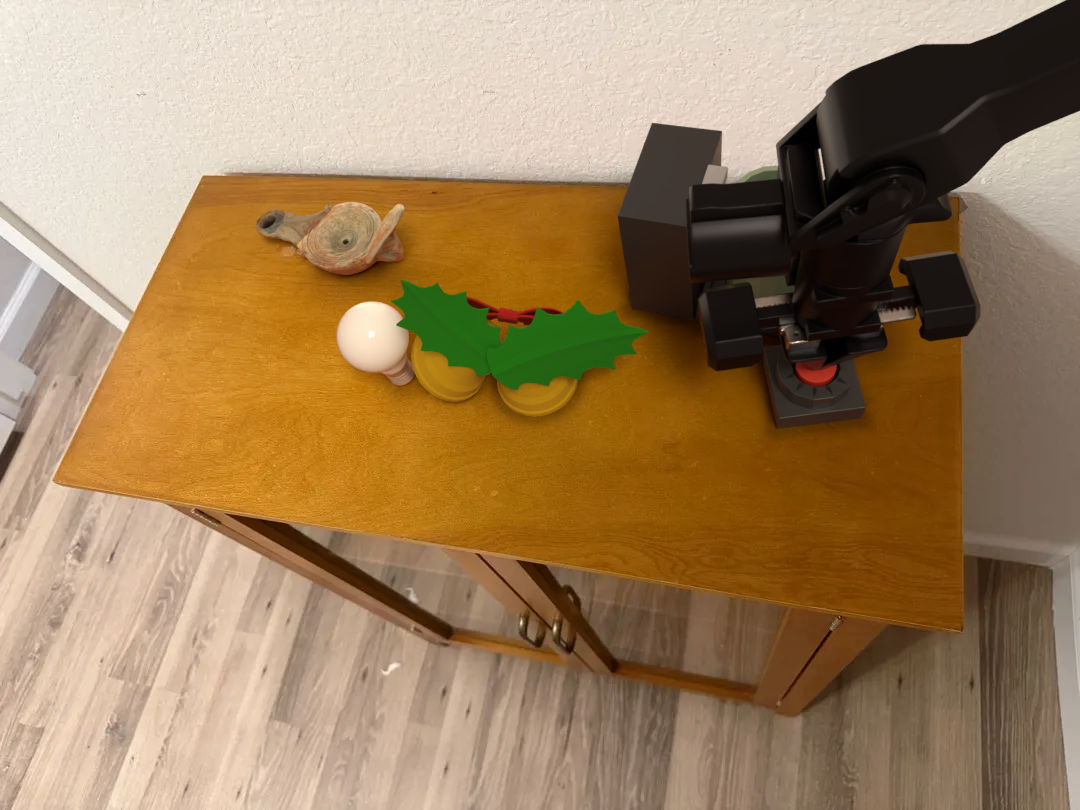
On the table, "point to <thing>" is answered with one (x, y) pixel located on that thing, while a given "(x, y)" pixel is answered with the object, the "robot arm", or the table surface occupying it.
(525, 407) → the ornament
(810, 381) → the button
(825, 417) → the button block
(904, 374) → the table surface
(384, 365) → the lightbulb
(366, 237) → the oil lamp
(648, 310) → the coffee maker
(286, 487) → the table surface
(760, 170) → the cup
